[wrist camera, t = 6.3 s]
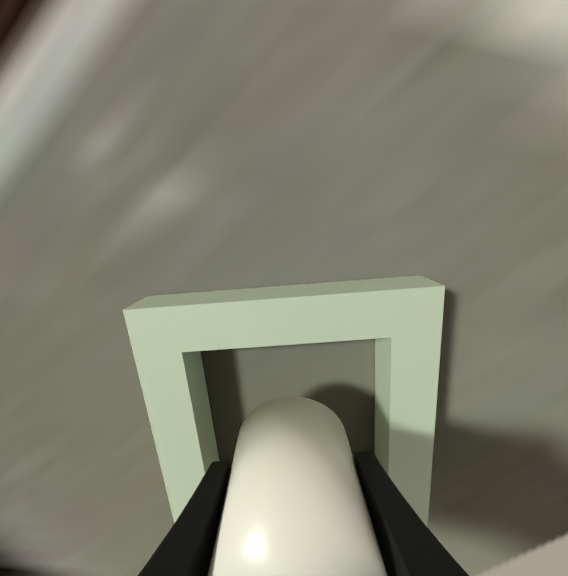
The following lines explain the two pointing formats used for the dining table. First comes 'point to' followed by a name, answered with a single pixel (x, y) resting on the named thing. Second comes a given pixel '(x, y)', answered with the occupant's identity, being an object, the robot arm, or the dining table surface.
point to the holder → (286, 331)
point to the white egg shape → (294, 499)
